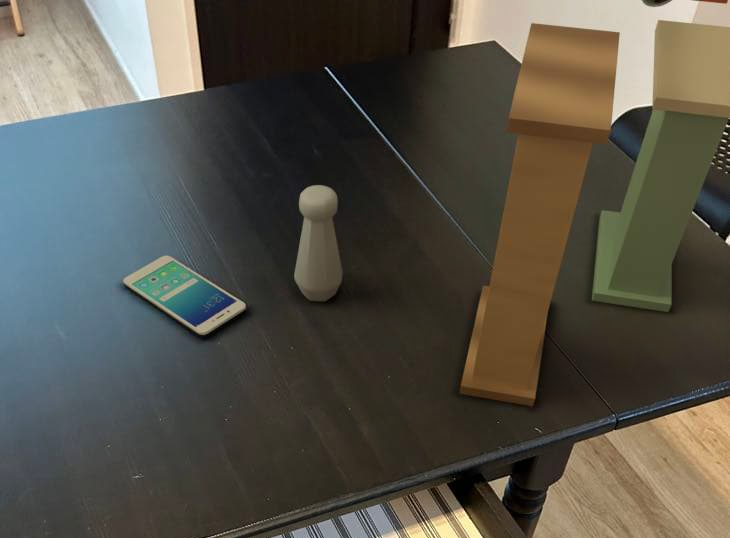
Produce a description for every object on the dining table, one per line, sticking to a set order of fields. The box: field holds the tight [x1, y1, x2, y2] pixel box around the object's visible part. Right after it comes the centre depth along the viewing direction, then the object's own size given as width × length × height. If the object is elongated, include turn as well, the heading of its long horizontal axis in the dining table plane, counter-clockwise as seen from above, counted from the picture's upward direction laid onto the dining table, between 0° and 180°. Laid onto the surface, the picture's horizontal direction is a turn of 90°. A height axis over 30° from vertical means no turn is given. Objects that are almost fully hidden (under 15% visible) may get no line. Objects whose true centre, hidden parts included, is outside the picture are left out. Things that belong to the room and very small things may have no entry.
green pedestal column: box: [591, 19, 730, 313], centre depth 94 cm, size 18×9×24 cm, turn 166°
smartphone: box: [122, 255, 247, 339], centre depth 99 cm, size 8×1×15 cm
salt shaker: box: [293, 184, 343, 302], centre depth 95 cm, size 6×6×13 cm
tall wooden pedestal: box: [459, 22, 621, 407], centre depth 82 cm, size 18×8×30 cm, turn 166°
